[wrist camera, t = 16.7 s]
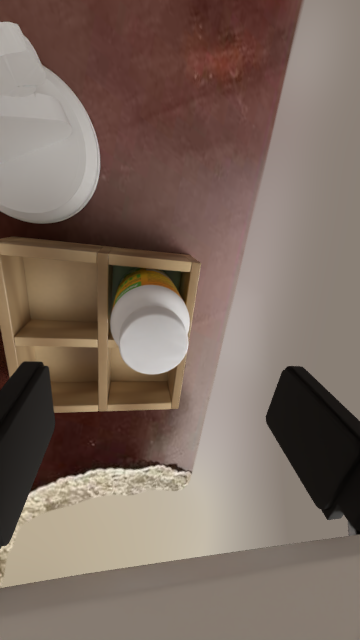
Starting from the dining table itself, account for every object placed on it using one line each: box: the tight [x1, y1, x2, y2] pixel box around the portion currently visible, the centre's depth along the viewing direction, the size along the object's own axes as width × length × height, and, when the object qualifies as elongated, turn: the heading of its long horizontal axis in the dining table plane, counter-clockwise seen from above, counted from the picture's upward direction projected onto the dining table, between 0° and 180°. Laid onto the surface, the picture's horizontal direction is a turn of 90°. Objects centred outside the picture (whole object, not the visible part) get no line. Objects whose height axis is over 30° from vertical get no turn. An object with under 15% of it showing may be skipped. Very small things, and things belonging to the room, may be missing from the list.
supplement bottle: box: [110, 267, 190, 374], centre depth 18 cm, size 5×5×10 cm
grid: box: [0, 236, 201, 413], centre depth 22 cm, size 15×15×4 cm
